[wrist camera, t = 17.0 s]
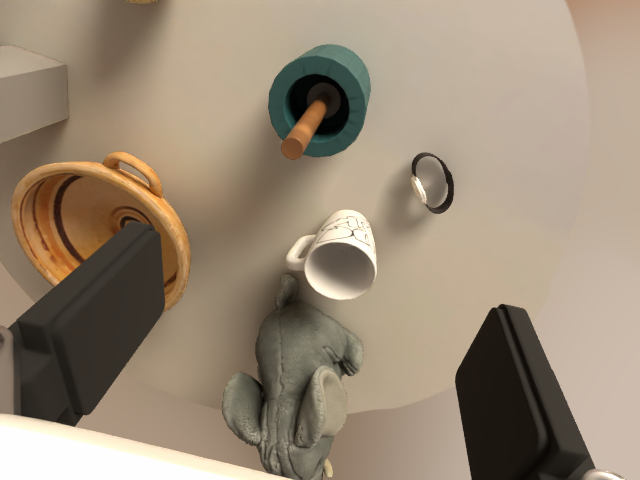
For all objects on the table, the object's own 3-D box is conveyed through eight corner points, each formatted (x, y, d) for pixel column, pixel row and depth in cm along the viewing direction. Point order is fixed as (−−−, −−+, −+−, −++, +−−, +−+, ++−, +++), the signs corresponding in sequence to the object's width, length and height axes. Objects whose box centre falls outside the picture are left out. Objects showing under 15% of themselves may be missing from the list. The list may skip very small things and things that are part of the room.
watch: (401, 157, 47) (402, 168, 44) (441, 142, 46) (444, 153, 42) (422, 210, 50) (424, 224, 47) (459, 198, 49) (464, 212, 46)
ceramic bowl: (173, 318, 68) (149, 353, 61) (39, 247, 64) (-2, 276, 57) (245, 191, 53) (224, 219, 46) (75, 87, 49) (25, 101, 42)
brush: (316, 71, 43) (269, 117, 26) (348, 77, 43) (321, 128, 26) (311, 104, 45) (264, 167, 28) (342, 110, 45) (313, 177, 28)
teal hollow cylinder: (296, 37, 42) (272, 46, 34) (378, 53, 42) (375, 66, 33) (287, 120, 47) (264, 146, 38) (361, 135, 46) (354, 165, 38)
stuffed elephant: (335, 392, 72) (310, 576, 49) (234, 339, 68) (156, 509, 46) (399, 333, 62) (405, 528, 39) (285, 267, 58) (219, 439, 36)
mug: (303, 258, 57) (288, 303, 49) (290, 207, 53) (271, 246, 45) (382, 252, 55) (380, 298, 46) (374, 197, 50) (371, 237, 42)
